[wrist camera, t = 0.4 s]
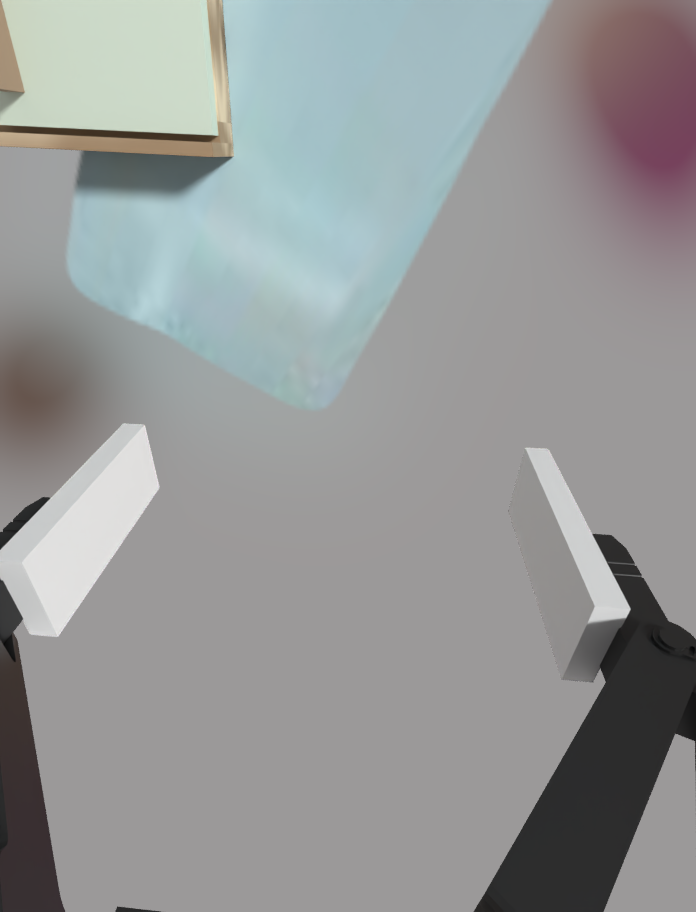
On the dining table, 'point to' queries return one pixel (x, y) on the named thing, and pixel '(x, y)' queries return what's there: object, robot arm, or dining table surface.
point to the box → (146, 140)
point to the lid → (107, 65)
